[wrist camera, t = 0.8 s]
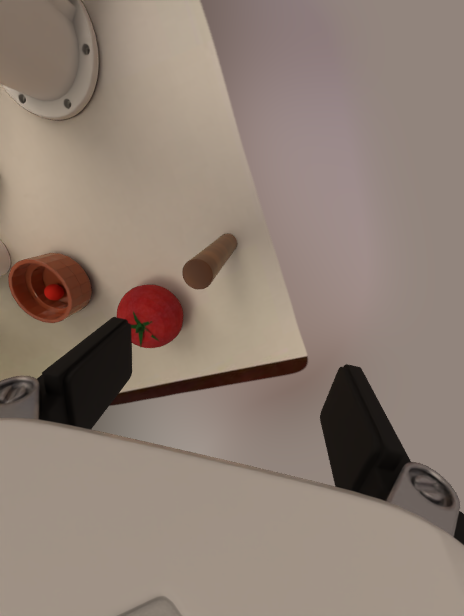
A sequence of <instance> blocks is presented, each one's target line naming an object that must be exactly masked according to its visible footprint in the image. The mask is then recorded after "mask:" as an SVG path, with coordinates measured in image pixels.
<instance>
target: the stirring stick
mask: <svg viewBox="0 0 464 616" xmlns="http://www.w3.org/2000/svg"><path fill="white" fill-rule="evenodd" d="M236 247H237V240H236V238H235V237H234V236H233V235H232V234H224V235H222V236H221V237H220V238H218V239H217V240H216V241H214V242H213V243H212V244H210V245H209V246H208V247H206V248H205V249H204V250H202V251H201V252H200V253H199V254H197V255H196V256H195V257H193V258H192V259H191V260H189V261H188V262H187V263H186V264H185V265H184V267H183V278H184V280H185V282H186V283H187V284H188V285H189V286H190V287H192V288H194V289H204V288H206V287H208V286H209V285H210V284H211V282H212V281H213V279H214V278H215V277H216V275H217V274H218V272H219V271H220V270H221V268H222V267H223V265H224V264H225V263H226V261H227V260H228V258H229V257H230V256H231V254H232V253H233V251H234V250H235V249H236Z"/></svg>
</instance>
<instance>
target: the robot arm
mask: <svg viewBox="0 0 464 616" xmlns="http://www.w3.org/2000/svg"><path fill="white" fill-rule="evenodd" d="M98 68H99V59H98V47H97V41H96V35H95V32H94V29H93V26H92V22H91V20H90V17H89V15H88V13H87V11H86V9H85V6H84V5H83V3H82V2H81V0H0V84H1V85H2V86H3V87H4V89H5V90H6V91H7V93H8V94H9V95H10V96H11V97H12V98H13V99H14V100H15V101H16V102H17V103H18V104H19V105H20V106H22V107H23V108H25V109H26V110H27V111H29V112H31V113H33V114H35V115H38V116H40V117H43V118H46V119H52V120H63V119H68V118H70V117H73V116H75V115H76V114H78V113H79V112H80V111H81V110H83V108H84V107H85V106H86V105H87V103H88V102H89V100H90V98H91V96H92V94H93V92H94V89H95V86H96V82H97V77H98ZM131 374H132V336H131V324H130V323H128V321H127V320H126V319H121V318H116V317H113V318H111V319H110V320H109V321H107V322H106V323H105V324H104V325H102V326H101V327H100V328H98V329H97V330H96V331H95V332H93V333H92V334H91V335H89V336H88V337H87V338H86V339H84V340H83V341H82V342H81V343H79V344H78V345H77V346H75V347H74V348H73V349H72V350H70V351H69V352H68V353H66V354H65V355H64V356H63V357H61V358H60V359H59V360H57V361H56V362H55V363H54V364H52V365H51V366H50V367H48V368H47V369H46V370H45V371H43V372H42V375H41V376H40V377H39V378H37V379H36V378H34V377H30V376H16V377H11V378H8V379H4V380H2V381H0V616H464V514H463V513H462V512H460V511H459V509H460V502H459V498H458V496H457V494H456V492H455V491H454V489H453V488H452V486H451V485H450V484H449V483H448V482H447V481H446V480H445V479H444V478H443V477H442V476H441V475H440V474H438V473H437V472H436V471H434V470H433V469H431V468H429V467H428V466H426V465H423V464H420V463H416V462H411V461H410V459H409V457H408V456H407V454H406V452H405V450H404V448H403V446H402V444H401V442H400V440H399V439H398V437H397V435H396V433H395V431H394V429H393V427H392V425H391V424H390V422H389V420H388V418H387V416H386V414H385V412H384V410H383V409H382V407H381V405H380V403H379V401H378V399H377V398H376V395H375V394H374V392H373V390H372V388H371V386H370V384H369V382H368V380H367V378H366V377H365V375H364V373H363V371H362V369H361V368H360V367H356V366H352V365H345V366H344V367H340V368H339V370H338V372H337V374H336V377H335V379H334V382H333V384H332V387H331V389H330V391H329V394H328V396H327V399H326V401H325V404H324V406H323V409H322V411H321V415H320V421H321V425H322V430H323V434H324V438H325V443H326V447H327V451H328V456H329V460H330V465H331V469H332V474H333V478H334V482H335V487H334V486H331V485H327V484H323V483H319V482H315V481H311V480H307V479H303V478H298V477H295V476H290V475H286V474H282V473H278V472H273V471H269V470H265V469H261V468H257V467H253V466H248V465H244V464H240V463H236V462H231V461H227V460H223V459H218V458H214V457H210V456H205V455H201V454H197V453H192V452H188V451H183V450H180V449H175V448H171V447H166V446H162V445H158V444H153V443H149V442H144V441H140V440H136V439H131V438H126V437H122V436H118V435H113V434H109V433H104V432H100V431H95V430H91V429H92V427H93V426H94V425H95V423H96V422H97V421H98V419H99V418H100V417H101V416H102V414H103V413H104V411H105V410H106V409H107V408H108V406H109V405H110V404H111V402H112V401H113V400H114V398H115V397H116V396H117V395H118V393H119V392H120V391H121V389H122V388H123V387H124V385H125V384H126V383H127V381H128V380H129V379H130V377H131Z"/></svg>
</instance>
